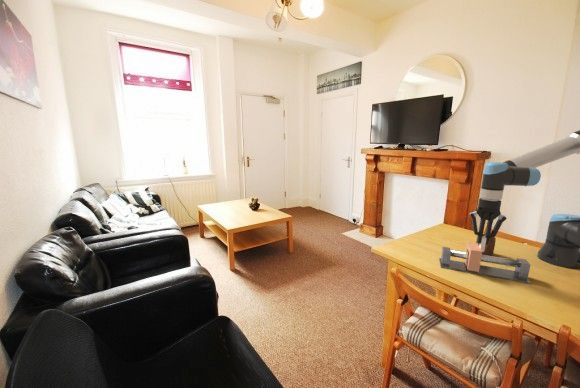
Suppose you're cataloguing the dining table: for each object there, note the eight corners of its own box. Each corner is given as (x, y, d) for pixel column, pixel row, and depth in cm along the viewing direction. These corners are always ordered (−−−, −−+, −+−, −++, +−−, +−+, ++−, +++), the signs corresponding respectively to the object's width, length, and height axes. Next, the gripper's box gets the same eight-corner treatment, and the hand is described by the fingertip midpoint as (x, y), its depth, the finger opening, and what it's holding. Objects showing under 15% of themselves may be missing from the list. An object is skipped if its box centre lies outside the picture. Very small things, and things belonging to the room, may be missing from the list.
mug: (495, 261, 124) (499, 243, 122) (476, 258, 128) (479, 240, 125) (491, 252, 134) (494, 235, 132) (473, 249, 138) (476, 232, 136)
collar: (474, 262, 121) (477, 243, 119) (478, 272, 112) (482, 251, 110) (464, 260, 122) (467, 241, 120) (467, 270, 114) (471, 250, 112)
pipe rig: (522, 273, 113) (525, 257, 112) (530, 283, 105) (534, 266, 104) (439, 259, 127) (441, 244, 125) (440, 267, 119) (442, 251, 117)
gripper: (506, 198, 110) (497, 249, 115) (470, 195, 115) (462, 244, 120) (512, 202, 103) (502, 256, 108) (473, 199, 109) (465, 251, 114)
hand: (481, 250), depth 114 cm, fingers closed
